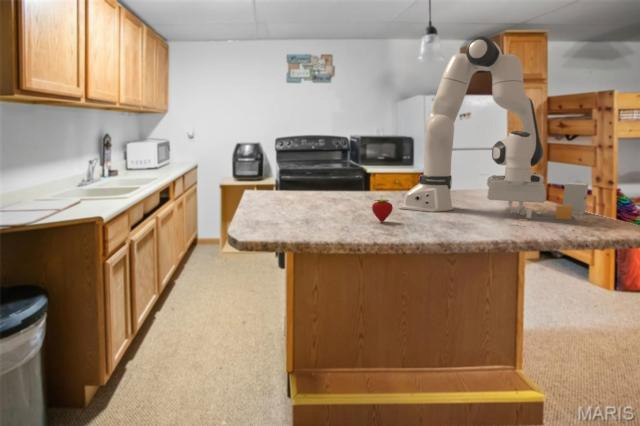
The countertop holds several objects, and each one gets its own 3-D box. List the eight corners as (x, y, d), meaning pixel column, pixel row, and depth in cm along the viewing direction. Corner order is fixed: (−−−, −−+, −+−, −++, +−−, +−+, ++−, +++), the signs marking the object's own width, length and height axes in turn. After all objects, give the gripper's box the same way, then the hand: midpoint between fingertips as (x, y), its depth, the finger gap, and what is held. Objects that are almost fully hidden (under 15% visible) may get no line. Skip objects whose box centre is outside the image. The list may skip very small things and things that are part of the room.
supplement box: (582, 217, 189) (585, 185, 186) (561, 215, 193) (564, 183, 191) (585, 214, 194) (588, 183, 192) (565, 212, 199) (568, 181, 197)
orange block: (556, 218, 181) (557, 206, 180) (555, 216, 186) (556, 204, 185) (571, 219, 179) (572, 207, 178) (569, 217, 184) (570, 205, 183)
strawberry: (393, 223, 176) (393, 196, 174) (371, 223, 176) (372, 195, 174) (391, 220, 182) (392, 193, 180) (371, 220, 182) (371, 193, 180)
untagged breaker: (520, 215, 187) (521, 206, 186) (520, 214, 188) (520, 205, 188) (524, 215, 186) (525, 206, 186) (524, 214, 188) (525, 205, 187)
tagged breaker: (526, 218, 181) (527, 209, 180) (526, 217, 182) (527, 208, 182) (531, 218, 180) (531, 209, 180) (530, 217, 182) (531, 208, 181)
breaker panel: (516, 222, 178) (517, 217, 178) (516, 215, 193) (517, 210, 193) (578, 227, 171) (579, 221, 171) (573, 219, 186) (573, 213, 185)
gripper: (487, 175, 181) (485, 212, 183) (548, 178, 174) (544, 216, 176) (488, 174, 187) (486, 210, 189) (547, 176, 179) (544, 213, 182)
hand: (514, 213), depth 183 cm, fingers closed
